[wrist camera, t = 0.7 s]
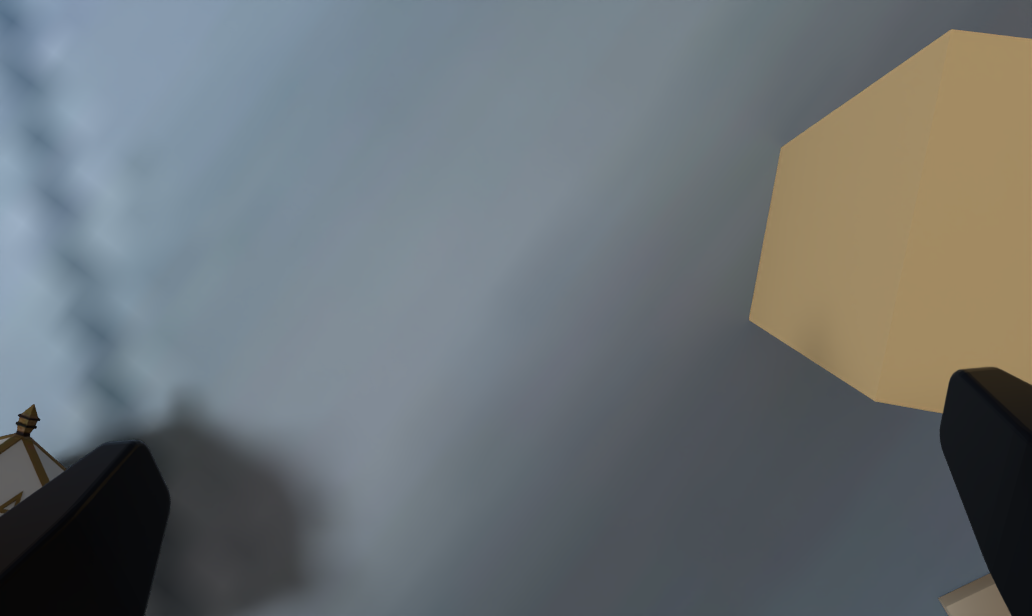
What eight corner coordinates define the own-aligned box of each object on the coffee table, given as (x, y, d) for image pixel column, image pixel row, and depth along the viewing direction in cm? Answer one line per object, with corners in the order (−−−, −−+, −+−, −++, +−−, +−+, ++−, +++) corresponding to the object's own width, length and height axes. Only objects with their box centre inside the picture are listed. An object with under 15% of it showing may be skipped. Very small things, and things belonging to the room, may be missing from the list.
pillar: (965, 356, 23) (1363, 488, 11) (748, 319, 24) (875, 401, 11) (1003, 179, 23) (1468, 91, 10) (781, 147, 24) (951, 29, 11)
